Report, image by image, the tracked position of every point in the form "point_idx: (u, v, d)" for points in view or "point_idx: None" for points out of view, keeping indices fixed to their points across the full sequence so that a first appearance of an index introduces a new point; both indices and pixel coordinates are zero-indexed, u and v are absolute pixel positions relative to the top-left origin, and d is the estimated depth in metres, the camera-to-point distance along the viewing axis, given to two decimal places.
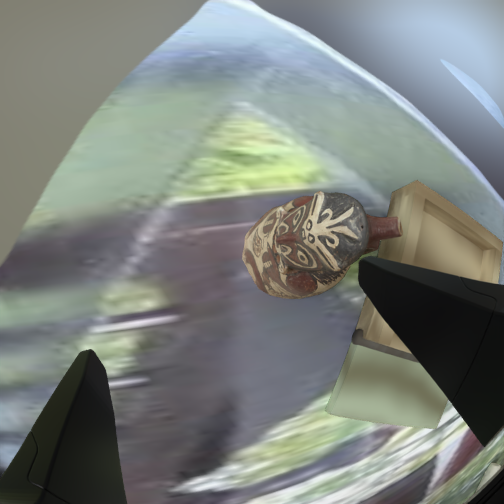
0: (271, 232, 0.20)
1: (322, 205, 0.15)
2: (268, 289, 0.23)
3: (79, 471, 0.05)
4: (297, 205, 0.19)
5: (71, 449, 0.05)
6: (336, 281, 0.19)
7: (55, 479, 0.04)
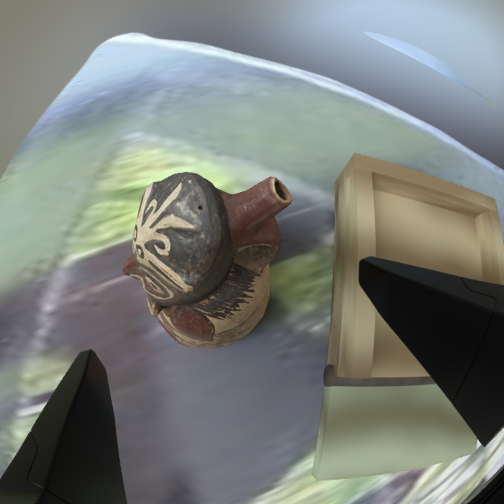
0: None
1: (147, 199, 0.09)
2: (181, 341, 0.17)
3: (79, 471, 0.05)
4: None
5: (71, 449, 0.05)
6: (242, 310, 0.13)
7: (55, 479, 0.04)
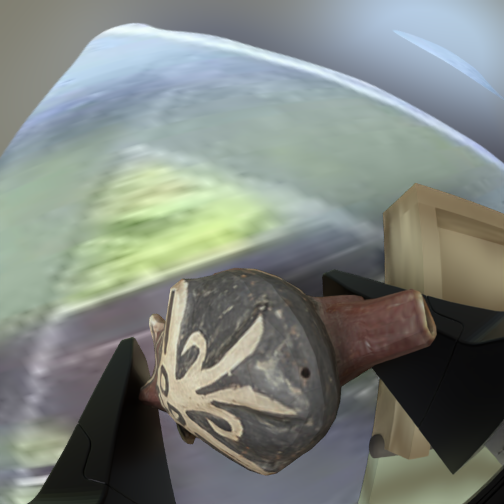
0: None
1: (182, 323, 0.05)
2: None
3: (134, 462, 0.05)
4: None
5: (126, 439, 0.05)
6: None
7: (115, 472, 0.04)
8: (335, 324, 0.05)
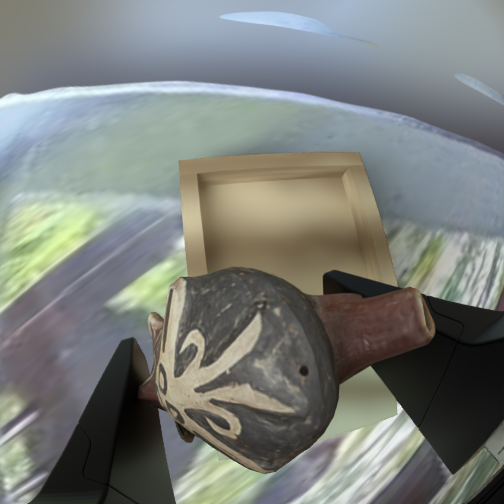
0: None
1: (180, 322, 0.05)
2: None
3: (134, 462, 0.05)
4: None
5: (126, 439, 0.05)
6: None
7: (115, 472, 0.04)
8: (333, 322, 0.05)
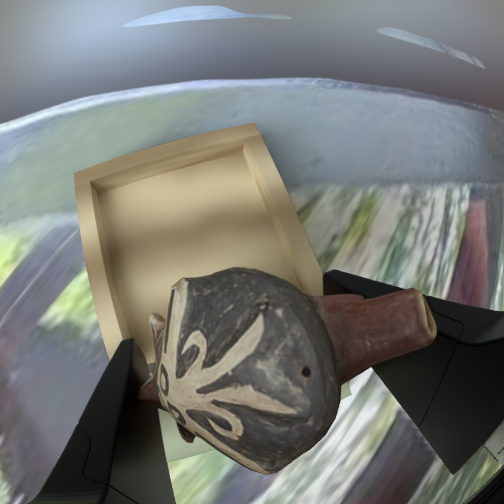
0: None
1: (182, 323, 0.05)
2: None
3: (134, 463, 0.05)
4: None
5: (126, 439, 0.05)
6: None
7: (115, 472, 0.04)
8: (335, 323, 0.05)
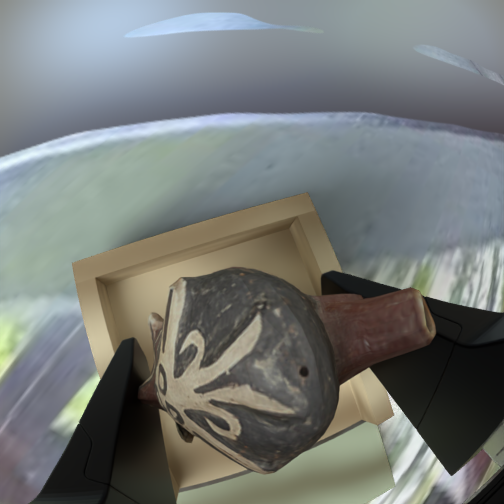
0: None
1: (180, 322, 0.05)
2: None
3: (135, 462, 0.05)
4: None
5: (127, 439, 0.05)
6: None
7: (116, 472, 0.04)
8: (334, 323, 0.05)
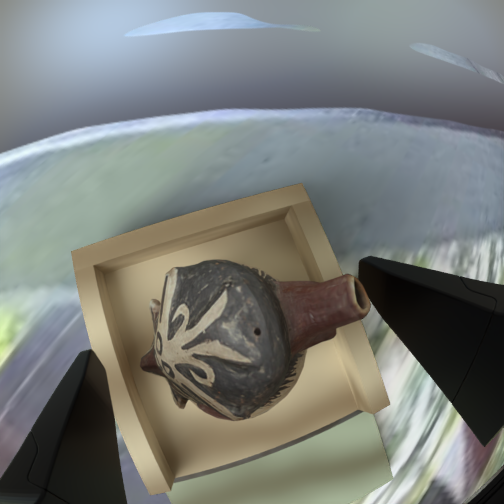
0: None
1: (173, 299, 0.07)
2: None
3: (79, 471, 0.05)
4: None
5: (71, 449, 0.05)
6: (282, 395, 0.10)
7: (55, 479, 0.04)
8: (288, 301, 0.07)
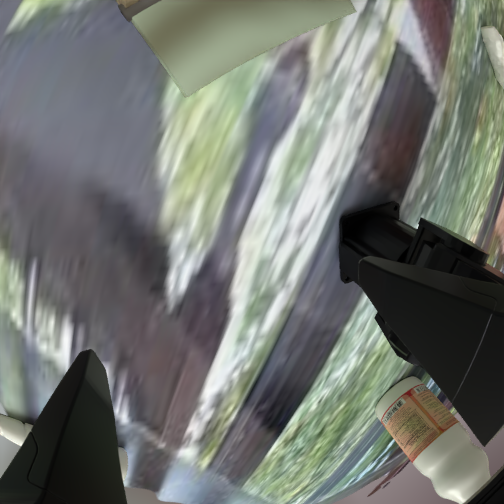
0: None
1: None
2: None
3: (79, 471, 0.05)
4: None
5: (71, 449, 0.05)
6: None
7: (55, 479, 0.04)
8: None
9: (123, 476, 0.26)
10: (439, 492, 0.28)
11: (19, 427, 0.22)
